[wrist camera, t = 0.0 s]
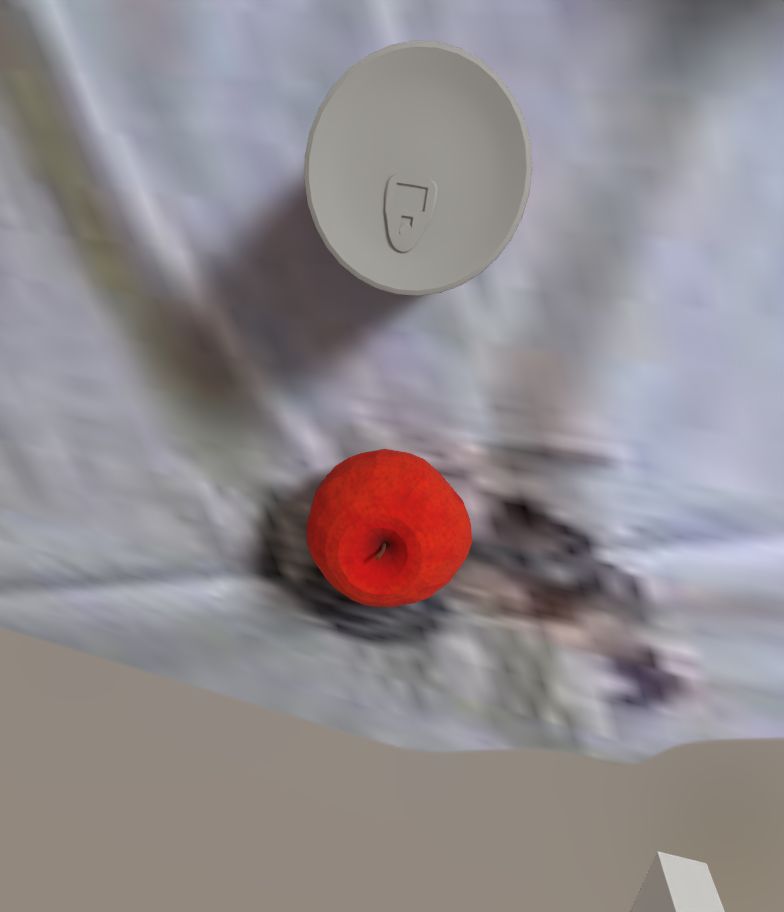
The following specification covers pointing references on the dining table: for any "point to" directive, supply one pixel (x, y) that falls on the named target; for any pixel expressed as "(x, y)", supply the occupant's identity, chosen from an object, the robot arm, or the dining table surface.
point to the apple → (387, 529)
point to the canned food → (418, 168)
